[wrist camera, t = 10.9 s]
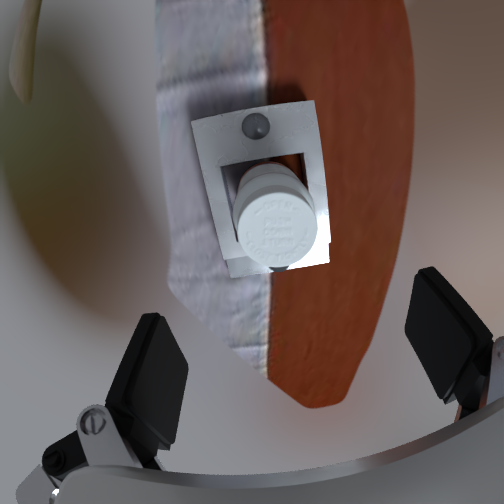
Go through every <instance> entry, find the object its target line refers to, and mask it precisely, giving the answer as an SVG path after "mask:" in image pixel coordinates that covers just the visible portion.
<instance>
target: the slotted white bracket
mask: <svg viewBox="0 0 504 504" xmlns="http://www.w3.org/2000/svg"><path fill="white" fill-rule="evenodd" d="M191 124H192V129H193V134H194V138H195V143H196V147H197V152H198V156H199V160H200V165H201V169H202V174H203V178H204V182H205V186H206V191H207V195H208V199H209V203H210V207H211V211H212V215H213V219H214V223H215V227H216V231H217V235H218V239H219V243H220V247H221V251H222V255H223V259H224V260H226V261H227V265H228V269H229V273H230V277H231V278H235V277H242V276H248V275H255V274H261V273H267V272H274V271H275V272H282V271H285V270H286V269H292V268H298V267H304V266H310V265H316V264H321V263H327V262H329V251H328V243H329V242H330V227H329V214H328V202H327V192H326V182H325V173H324V165H323V157H322V149H321V142H320V135H319V128H318V122H317V116H316V110H315V104H314V100H313V101H302V102H292V103H284V104H276V105H269V106H263V107H256V108H250V109H245V110H239V111H234V112H229V113H224V114H219V115H215V116H210V117H206V118H202V119H198V120H194V121H191ZM295 153H300V159H301V166H302V173H303V181H304V186H305V187H306V188H307V190H308V191H309V193H310V195H311V197H312V199H313V202H314V206H315V216H316V219H317V223H318V233H317V238H316V241H315V244H314V246H313V247H312V249H311V251H310V252H309V253H308V254H307V255H306V256H305V257H304V258H303V259H301V260H300V261H298V262H296V263H294V264H292V265H289V266H284V267H268V266H264V265H261V264H259V263H257V262H255V261H254V260H252V259H251V258H250V257H249V256H248V255H246V253H245V252H244V251H243V249H242V248H241V246H240V243H239V241H238V236H237V231H236V228H235V226H234V222H233V209H232V204H231V199H230V195H229V190H228V185H227V181H226V176H225V171H224V167H223V166H224V165H229V164H234V163H240V162H245V161H251V160H256V159H262V158H268V157H275V156H281V155H288V154H295Z"/></svg>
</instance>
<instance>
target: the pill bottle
mask: <svg viewBox="0 0 504 504" xmlns="http://www.w3.org/2000/svg"><path fill="white" fill-rule="evenodd" d="M233 222H234V226H235V228H236V231H237V236H238V241H239V243H240V246H241V248H242V249H243V251H244V252H245V253H246V255H248V256H249V257H250V258H251V259H252V260H254V261H255V262H257V263H259V264H261V265H264V266H268V267H284V266H289V265H292V264H294V263H296V262H298V261H300V260H301V259H303V258H304V257H305V256H306V255H307V254H308V253H309V252H310V251H311V249H312V247H313V246H314V244H315V241H316V238H317V233H318V223H317V219H316V216H315V206H314V202H313V199H312V197H311V195H310V193H309V191H308V190H307V188H306V187H305V186H304V185H303V184H302V182H301V181H300V180H299V179H298V178H297V176H296V175H295V174H294V173H293V172H292V171H291V170H290V169H289V168H287V167H286V166H284V165H282V164H280V163H277V162H270V161H268V162H261V163H258V164H256V165H254V166H252V167H250V168H249V169H248V170H247V171H246V172H245V173H244V175H243V176H242V178H241V180H240V183H239V186H238V190H237V194H236V198H235V202H234V206H233Z"/></svg>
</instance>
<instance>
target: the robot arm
mask: <svg viewBox="0 0 504 504" xmlns="http://www.w3.org/2000/svg"><path fill="white" fill-rule="evenodd" d="M405 334H406V336H407V338H408V339H409V341H410V343H411V345H412V347H413V349H414V351H415V352H416V354H417V356H418V358H419V360H420V362H421V363H422V365H423V367H424V369H425V371H426V373H427V375H428V377H429V379H430V381H431V383H432V385H433V387H434V389H435V392H436V393H437V396H438V397H439V398H440V399H443V401H444V403H445V404H448V403H450V402H452V401H454V400H456V399H457V401H458V403H459V405H458V410H457V413H456V417H455V420H454V423H453V424H451V425H448V426H446V427H444V428H442V429H440V430H438V431H436V432H433V433H431V434H429V435H427V436H424V437H422V438H419V439H417V440H414V441H412V442H409V443H407V444H404V445H401V446H398V447H396V448H393V449H390V450H387V451H384V452H380V453H377V454H374V455H370V456H367V457H363V458H359V459H356V460H351V461H347V462H343V463H338V464H334V465H329V466H324V467H318V468H312V469H306V470H299V471H290V472H282V473H271V474H256V475H255V474H254V475H205V474H190V473H178V472H168V471H166V470H165V468H164V467H163V465H162V464H161V462H160V461H159V459H158V457H157V450H158V449H161V450H170V445H171V444H173V443H174V442H175V438H176V433H177V427H178V422H179V416H180V411H181V405H182V400H183V395H184V390H185V385H186V380H187V375H188V363H187V361H186V359H185V357H184V355H183V353H182V352H181V350H180V348H179V346H178V344H177V342H176V340H175V338H174V336H173V334H172V332H171V330H170V327H169V325H168V323H167V321H166V319H165V317H164V316H160V314H159V313H146V314H143V315H142V316H141V319H140V321H139V323H138V325H137V327H136V329H135V331H134V334H133V336H132V338H131V340H130V343H129V345H128V347H127V349H126V351H125V354H124V356H123V358H122V361H121V363H120V365H119V368H118V370H117V373H116V375H115V378H114V380H113V383H112V385H111V387H110V390H109V392H108V395H107V398H106V400H105V401H106V404H105V406H102V405H98V404H97V405H91V406H89V407H87V408H85V409H84V410H83V411H82V412H81V413H80V415H79V417H78V419H77V423H76V425H77V430H76V431H74V432H73V433H71V434H69V435H67V436H66V437H64V438H62V439H61V440H59V441H57V442H55V443H54V444H52V445H51V446H49V447H48V448H47V449H46V450H45V452H44V454H43V456H42V465H43V466H42V465H40V464H39V465H38V466H37V467H36V468H35V469H34V470H33V471H32V472H31V474H30V475H28V477H27V478H26V479H25V480H24V481H23V482H22V483H21V484H20V485H19V486H18V488H17V490H16V499H17V502H18V504H504V336H502V337H499V338H497V339H496V340H495V342H493V340H492V337H493V334H492V333H491V332H490V330H489V329H488V328H487V327H486V325H485V324H484V323H483V322H482V320H481V319H480V318H479V317H478V315H477V314H476V313H475V312H474V311H473V309H472V308H471V307H470V306H469V305H468V304H467V302H466V301H465V300H464V299H463V298H462V297H461V295H459V293H458V292H457V291H456V290H455V289H454V288H453V287H452V285H450V283H449V282H448V281H447V280H446V279H445V278H444V277H443V276H442V275H441V274H440V273H439V272H438V271H437V270H436V268H434V267H427V268H423V269H420V270H419V271H418V274H416V275H415V278H414V283H413V289H412V294H411V300H410V305H409V310H408V315H407V319H406V323H405Z"/></svg>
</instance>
